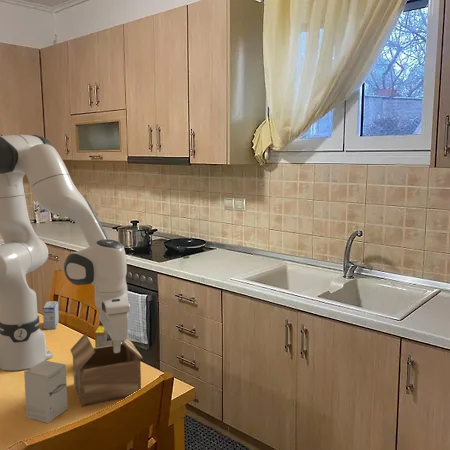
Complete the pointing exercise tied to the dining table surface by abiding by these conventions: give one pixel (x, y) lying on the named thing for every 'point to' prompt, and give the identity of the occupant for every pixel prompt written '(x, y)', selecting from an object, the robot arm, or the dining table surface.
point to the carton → (107, 376)
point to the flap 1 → (82, 351)
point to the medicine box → (50, 315)
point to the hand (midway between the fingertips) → (112, 345)
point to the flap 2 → (131, 347)
